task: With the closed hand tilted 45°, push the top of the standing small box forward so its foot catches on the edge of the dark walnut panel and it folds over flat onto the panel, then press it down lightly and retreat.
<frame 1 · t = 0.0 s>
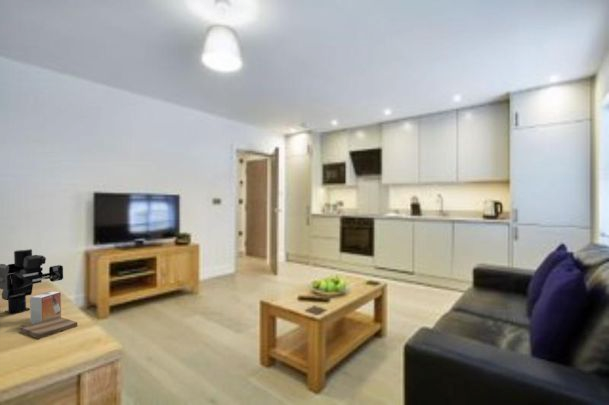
hand: (46, 279, 127), 17 cm above the table, tool horizontal, fingers open, 9 cm apart
small box: (46, 321, 128), on the table
floor panel: (49, 328, 119), on the table
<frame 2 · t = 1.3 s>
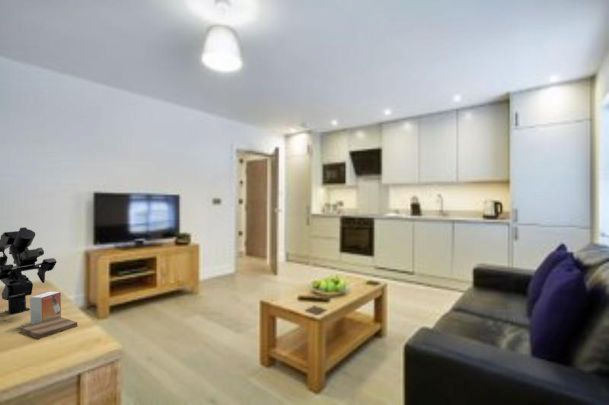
hand: (35, 284, 131), 14 cm above the table, tool tilted 45°, fingers open, 6 cm apart
nothing on the table moved.
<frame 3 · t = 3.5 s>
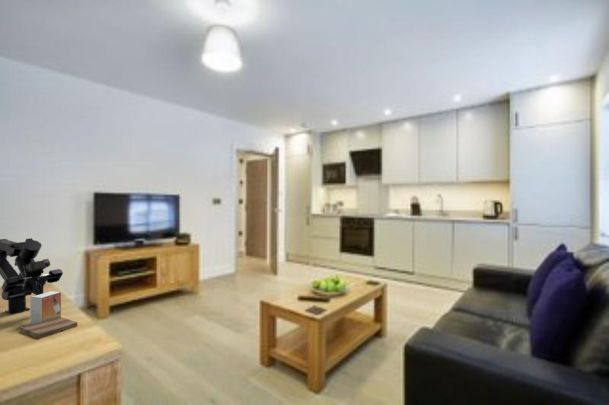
hand: (41, 296, 129), 9 cm above the table, tool tilted 45°, fingers closed
small box: (46, 321, 128), on the table, touching gripper
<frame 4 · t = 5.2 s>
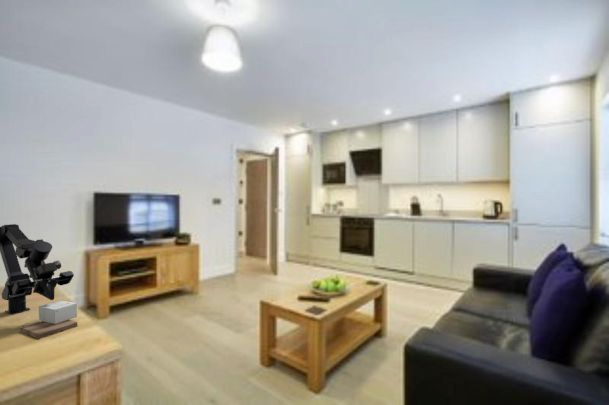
hand: (52, 299, 125), 9 cm above the table, tool tilted 45°, fingers closed
small box: (49, 309, 127), point 4 cm above the table, touching floor panel
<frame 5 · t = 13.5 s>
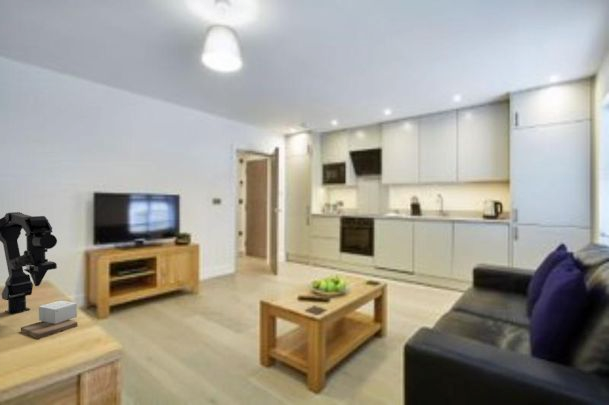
hand: (37, 286, 130), 13 cm above the table, tool pointing down, fingers closed
nothing on the table moved.
at the end: small box tilted 90°; small box inside the target area (3.1 cm from its centre), point 4.3 cm above the table; small box touching floor panel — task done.
